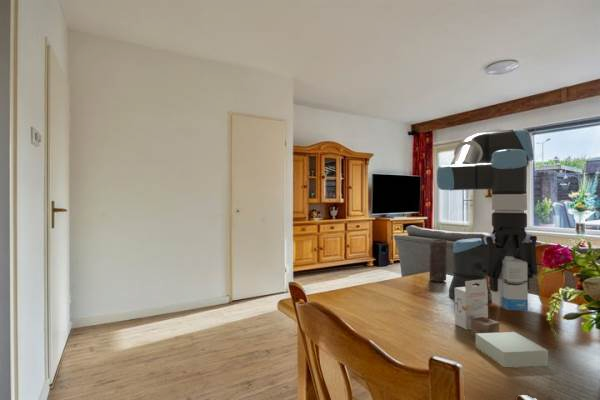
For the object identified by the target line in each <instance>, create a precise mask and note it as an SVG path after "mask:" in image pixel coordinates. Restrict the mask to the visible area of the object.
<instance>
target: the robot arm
mask: <svg viewBox="0 0 600 400" xmlns="http://www.w3.org/2000/svg"><path fill="white" fill-rule="evenodd" d="M533 150H534V148H533V143H532V138H531V133H530V132H529V130H528V129H524V128H522V129H521V128H519V129H518V128H517V129H507V130H500V131H499V130H498V131H489V132H480V133H475V134H473V135H470V136H468V137H466V138H463V140H461V141H460V142H459V143H458V144H457V145H456V147H455V148H454V151H453V156H454V157H453V159H452V161H451V163H450V164H445V165H440V166H439V167H437V171H436V185H437V188H438V189H439V190H441V191H450V192H451V191H470V190H471V191H472V190H491V210H492V211H493V212H492V213H491V226H492V228H493V230H492V232H491V234H488V235H481V238H479V237H477V238H475V237H474V238H465V239H458V240H456V241H454V242H453V249H452V250H453V251H452V254H453V255H452V256H453V257H452V258H453V259H452V260H453V261H452V262H453V263H452V264H453V265H452V266H453V269H452V270H453V271H452V272H453V273H452V274H453V276H452V279H451V282H450V284H449V285H450V286H449V288H448V296H449V297H450V298H452V299H454V300H455V289H454V288H457V287H465V281H472V280H483V279H486V280H487V277H488V279H489V280H488V281H489V283H487V289H488V303H489V302H491V303H493V304H494V305H497V306H498V307H502V279H500V278H499V276H500V273H501V269H502V260H504V259H505V256H512V257H514V258H517V259H520V260H522V261H524V262H527V288H528V291H529V290H530V279H533V278H534V276H537V274H538V267H537V263H538V262H537V253H536V252H537V251H536V248H537V247H536V244H537V239H538V237H537V236H536V235H534V234H533V235H532V234H527V232H526V228H527V227H528V214H527V212H525V211H527V210H528V193H527V188H528V187H527V186H528V183H527V182H528V178H527V177H528V172H527V169H528V167H529V163H530V162H531V161H533V160H534V151H533ZM475 285H476V286H479V285H480V284H477V283H475V284H473V285H472V286H475Z"/></svg>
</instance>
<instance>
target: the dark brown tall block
mask: <svg viewBox="0 0 600 400" xmlns="http://www.w3.org/2000/svg"><path fill="white" fill-rule="evenodd" d="M429 280H430V281H433V282H436V283H440V282H445V281H446V280H447V239H445V238H433V239H430V246H429Z"/></svg>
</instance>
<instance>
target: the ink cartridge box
mask: <svg viewBox="0 0 600 400" xmlns="http://www.w3.org/2000/svg"><path fill="white" fill-rule="evenodd" d="M475 283H477V284H480V285H479V286H476V285H475V286H472V285H473V284H475ZM487 284H488V280H487V278H486V279H483V280H472V281H465V287H457V288H454V289H455V299H454V322H455V323H454V324H455V325H456V326H458V327H461V329H464V330H471V319H474V318H479V317H485V318H488V319H489V302H488V289H487Z"/></svg>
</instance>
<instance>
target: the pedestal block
mask: <svg viewBox="0 0 600 400" xmlns="http://www.w3.org/2000/svg"><path fill="white" fill-rule="evenodd" d="M475 348H477V350H479V351H480V350H481V351H480V352H482V353H483V354H484V353H485V354H484V355H486V354H487V355H488V356H487V355H486V356H487V357H489V356H490V357H491V358H493V359H494V360H495V361H497V362H498V363H499V364H500V365H499V364H498V363H497V362H496V363H497V364H498V365H499V366H501V365H502V366H503V367H514V368H520V367H519V366H533V367H545V366H546V367H548V366H549V349H546V348H545V347H542V346H540V345H539V344H537V343H536V342H534V341H532V340H531V339H528V338H526V337H525V336H523V335H521V334H519V333H517V332H515V331H504V332H500V331H499V333H476V338H475ZM490 357H489V358H490ZM491 358H490V359H491ZM493 359H492V360H493ZM494 360H493V361H494ZM495 361H494V362H495ZM502 366H501V367H502ZM503 367H502V368H503Z"/></svg>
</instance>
